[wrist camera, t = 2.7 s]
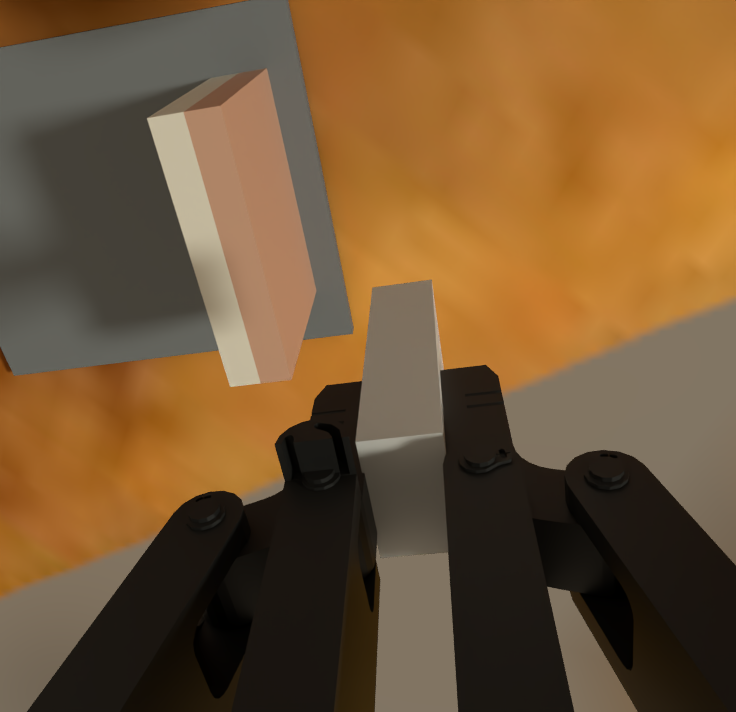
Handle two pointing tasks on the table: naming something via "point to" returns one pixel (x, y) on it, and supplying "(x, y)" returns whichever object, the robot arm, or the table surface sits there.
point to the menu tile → (239, 221)
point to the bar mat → (132, 187)
